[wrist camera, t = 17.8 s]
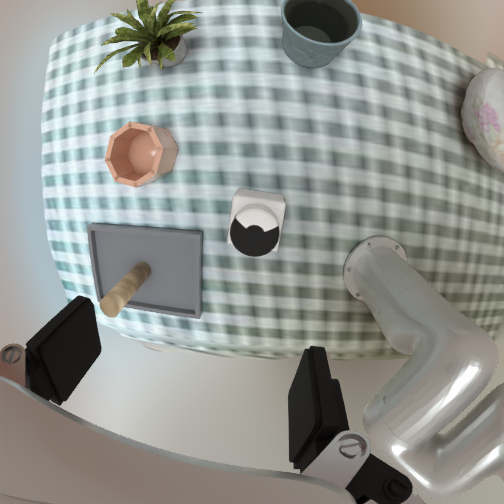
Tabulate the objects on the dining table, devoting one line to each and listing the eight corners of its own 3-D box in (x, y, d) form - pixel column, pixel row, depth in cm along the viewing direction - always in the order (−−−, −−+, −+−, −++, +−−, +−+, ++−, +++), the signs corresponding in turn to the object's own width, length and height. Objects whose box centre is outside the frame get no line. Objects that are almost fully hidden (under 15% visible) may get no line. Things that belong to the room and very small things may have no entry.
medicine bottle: (275, 237, 45) (278, 267, 34) (232, 230, 45) (221, 258, 34) (283, 194, 43) (289, 210, 31) (238, 187, 43) (228, 201, 31)
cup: (186, 162, 41) (171, 165, 35) (141, 189, 43) (122, 196, 37) (162, 116, 39) (144, 111, 32) (119, 145, 41) (98, 145, 34)
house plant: (179, 112, 39) (133, 95, 23) (118, 81, 36) (61, 61, 21) (229, 43, 34) (210, -5, 19) (164, 17, 32) (125, -26, 17)
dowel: (154, 273, 48) (122, 313, 35) (141, 280, 48) (108, 319, 36) (145, 259, 47) (109, 295, 34) (132, 265, 47) (96, 302, 35)
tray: (202, 231, 45) (199, 235, 43) (202, 312, 51) (199, 318, 49) (93, 222, 46) (86, 226, 44) (102, 296, 51) (98, 301, 49)
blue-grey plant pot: (287, 76, 36) (295, 50, 25) (269, 25, 32) (270, -11, 21) (347, 67, 34) (373, 43, 23) (328, 17, 31) (345, -16, 20)
